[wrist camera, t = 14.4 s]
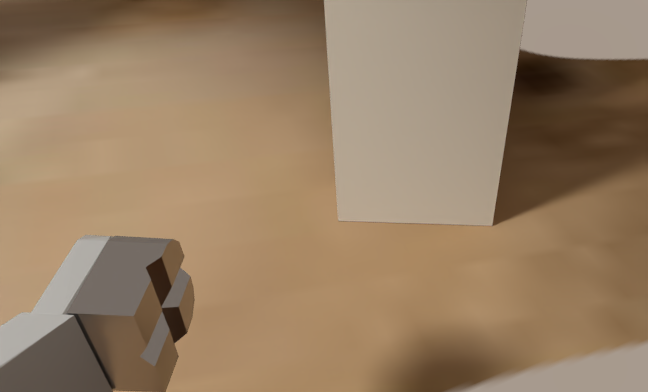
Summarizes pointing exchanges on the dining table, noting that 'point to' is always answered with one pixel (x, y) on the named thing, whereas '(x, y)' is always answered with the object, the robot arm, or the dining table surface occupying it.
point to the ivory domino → (420, 106)
